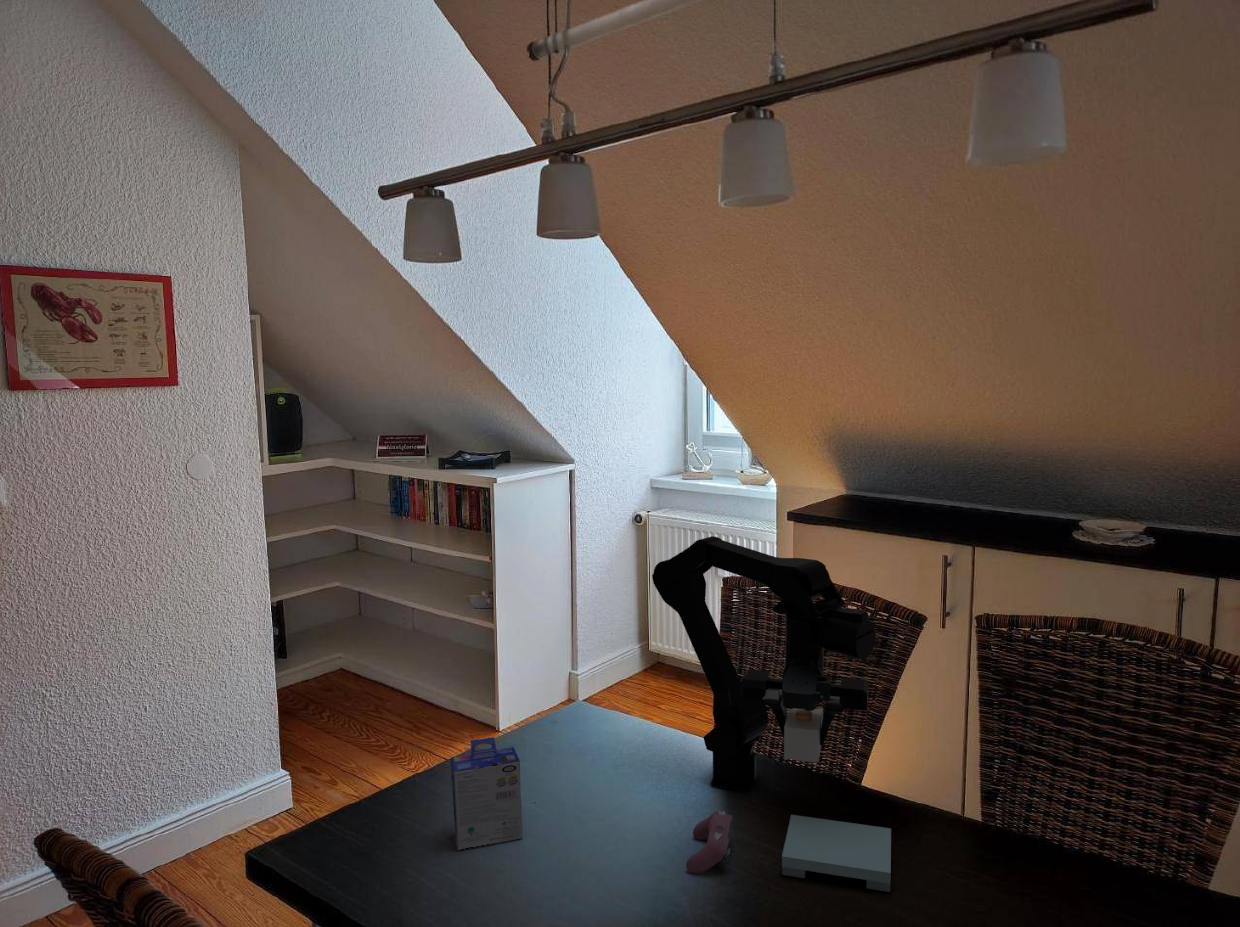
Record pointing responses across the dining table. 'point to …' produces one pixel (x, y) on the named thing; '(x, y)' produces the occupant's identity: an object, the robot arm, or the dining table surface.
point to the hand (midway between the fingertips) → (803, 742)
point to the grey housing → (803, 735)
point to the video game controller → (711, 842)
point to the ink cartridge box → (486, 796)
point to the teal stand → (838, 850)
